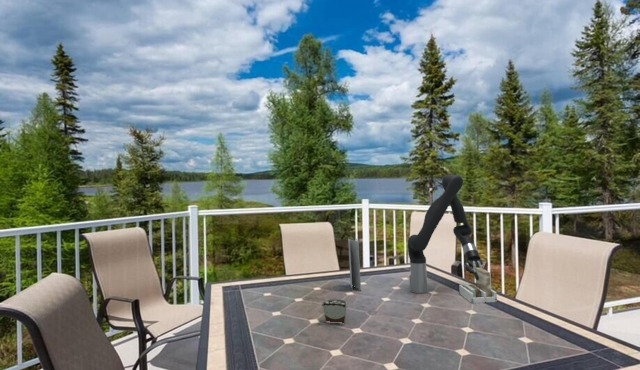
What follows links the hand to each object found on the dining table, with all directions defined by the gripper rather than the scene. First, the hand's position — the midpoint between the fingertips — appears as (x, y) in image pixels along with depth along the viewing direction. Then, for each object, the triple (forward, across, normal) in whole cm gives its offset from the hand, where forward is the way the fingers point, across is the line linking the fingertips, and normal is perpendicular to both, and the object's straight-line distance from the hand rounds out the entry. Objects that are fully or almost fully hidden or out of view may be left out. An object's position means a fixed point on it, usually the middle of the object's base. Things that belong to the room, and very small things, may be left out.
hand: (481, 279), depth 204 cm
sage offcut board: (+8, -7, +5) cm, 12 cm away
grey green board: (+8, 0, +5) cm, 10 cm away
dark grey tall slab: (-13, -67, +27) cm, 74 cm away
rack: (+8, -3, +5) cm, 10 cm away
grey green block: (+8, -5, +5) cm, 11 cm away
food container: (+26, -81, -12) cm, 86 cm away
